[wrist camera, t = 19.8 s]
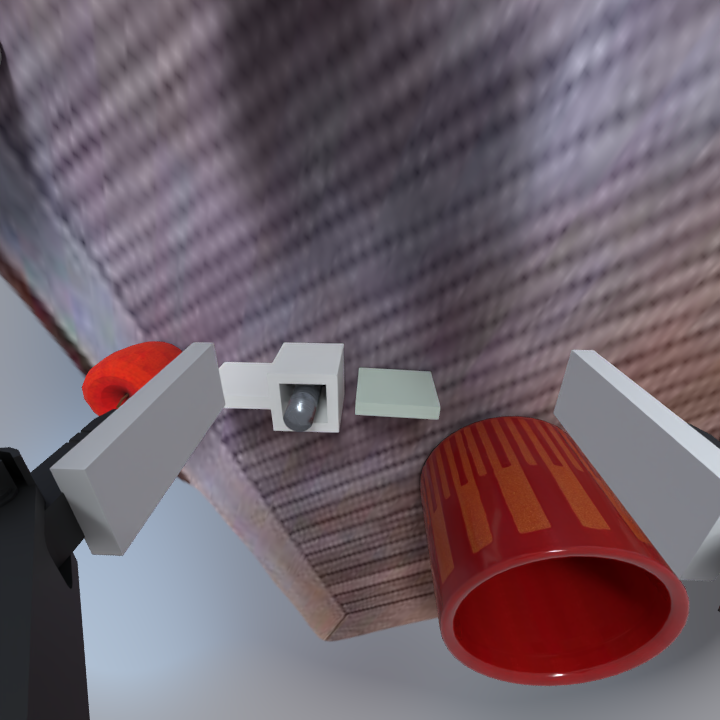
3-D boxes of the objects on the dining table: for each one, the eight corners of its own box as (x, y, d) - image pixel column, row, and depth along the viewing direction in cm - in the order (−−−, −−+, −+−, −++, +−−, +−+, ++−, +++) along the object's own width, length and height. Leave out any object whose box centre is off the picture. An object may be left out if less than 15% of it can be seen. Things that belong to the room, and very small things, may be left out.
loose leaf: (359, 367, 46) (355, 402, 38) (430, 371, 45) (440, 407, 38) (358, 380, 46) (355, 417, 39) (428, 384, 46) (438, 421, 39)
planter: (403, 517, 58) (414, 671, 39) (442, 396, 47) (483, 530, 29) (542, 539, 58) (616, 700, 40) (610, 426, 48) (750, 573, 30)
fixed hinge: (220, 341, 45) (191, 371, 38) (343, 343, 44) (337, 374, 37) (230, 392, 48) (204, 428, 41) (344, 394, 48) (338, 432, 41)
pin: (302, 358, 46) (282, 406, 36) (326, 358, 46) (312, 407, 36) (303, 378, 47) (284, 431, 37) (326, 379, 47) (313, 432, 37)
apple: (134, 379, 48) (73, 429, 39) (132, 320, 44) (64, 358, 35) (201, 394, 49) (157, 447, 39) (204, 337, 45) (157, 380, 35)
